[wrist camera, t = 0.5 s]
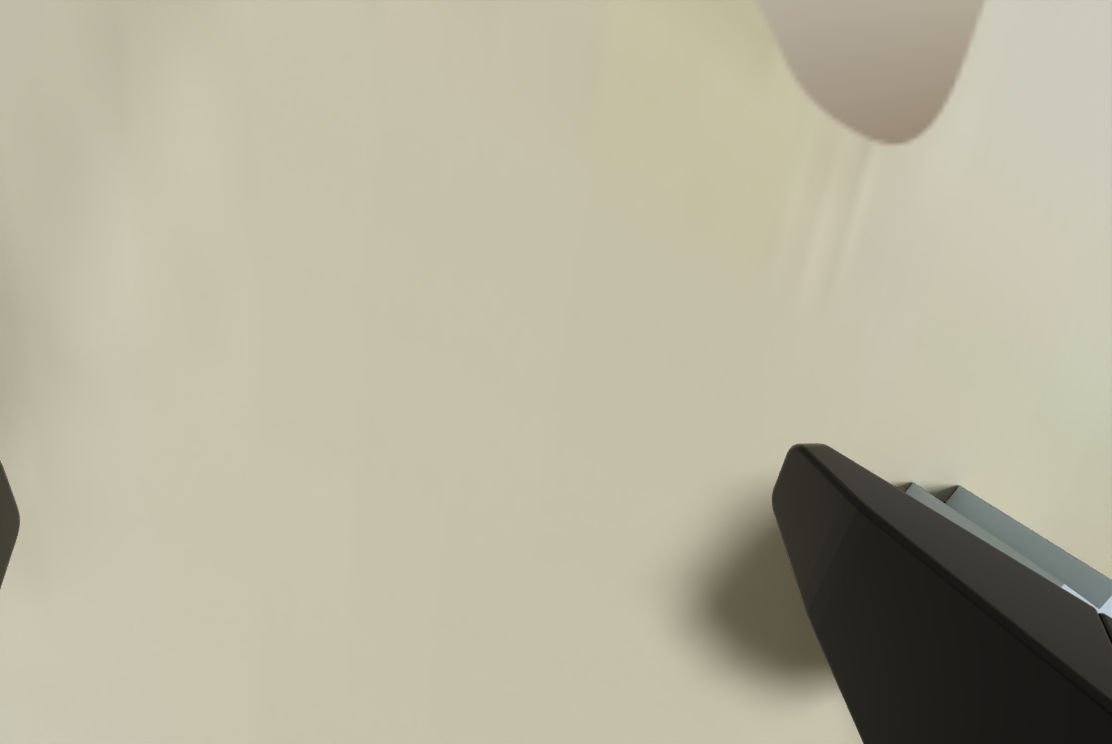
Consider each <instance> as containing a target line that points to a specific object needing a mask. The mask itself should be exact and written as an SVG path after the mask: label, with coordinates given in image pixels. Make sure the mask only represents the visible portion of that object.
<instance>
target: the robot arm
mask: <svg viewBox="0 0 1112 744" xmlns="http://www.w3.org/2000/svg"><path fill="white" fill-rule="evenodd" d="M772 506H773V511H774V514H775V517H776V521H777V524H778V527H779V530H780V533H781V536H782V539H783V542H784V546H785V549H786V552H787V555H788V558H789V561H790V564H791V567H792V571H793V574H794V577H795V580H796V583H797V586H798V589H799V592H800V596H801V598H802V601H803V604H804V607H805V610H806V612H807V615H808V617H809V620H810V622H811V625H812V627H813V630H814V632H815V634H816V637H817V639H818V641H819V643H820V646H821V648H822V650H823V652H824V655H825V657H826V659H827V662H828V664H829V666H830V668H831V671H832V673H833V675H834V677H835V680H836V682H837V684H838V687H839V689H840V691H841V693H842V696H843V698H844V700H845V702H846V705H847V707H848V709H849V712H850V714H851V716H852V718H853V721H854V723H855V725H856V727H857V730H858V732H859V734H860V737H861V739H862V741H863V743H864V744H1112V618H1111V617H1110V616H1108V615H1106V614H1104V613H1098V612H1097V610H1096V608H1094V607H1093V606H1091V605H1089V604H1088V603H1086V602H1085V601H1083V600H1081V599H1080V598H1078V597H1076V596H1075V595H1073V594H1071V593H1070V592H1068V591H1066V590H1065V589H1063V588H1061V587H1060V586H1058V585H1056V584H1055V583H1053V582H1052V581H1050V580H1048V579H1047V578H1045V577H1043V576H1042V575H1040V574H1038V573H1037V572H1035V571H1033V570H1032V569H1030V568H1028V567H1027V566H1025V565H1023V564H1022V563H1020V562H1019V561H1017V560H1015V559H1014V558H1012V557H1010V556H1009V555H1007V554H1005V553H1004V552H1002V551H1000V550H999V549H997V548H995V547H994V546H992V545H990V544H989V543H987V542H986V541H984V540H982V539H981V538H979V537H977V536H976V535H974V534H972V533H971V532H969V531H967V530H966V529H964V528H962V527H961V526H959V525H958V524H956V523H954V522H953V521H951V520H949V519H948V518H946V517H944V516H943V515H941V514H939V513H938V512H936V511H934V510H933V509H931V508H929V507H928V506H926V505H925V504H923V503H921V502H920V501H918V500H916V499H915V498H913V497H911V496H910V495H908V494H906V493H905V492H903V491H901V490H900V489H898V488H897V487H895V486H893V485H892V484H890V483H888V482H887V481H885V480H883V479H882V478H880V477H878V476H877V475H875V474H873V473H872V472H870V471H869V470H867V469H865V468H864V467H862V466H860V465H859V464H857V463H855V462H854V461H852V460H850V459H849V458H847V457H845V456H844V455H842V454H841V453H839V452H837V451H836V450H834V449H832V448H831V447H829V446H827V445H825V444H819V443H814V444H796V445H793V446H792V447H791V448H790V449H789V451H788V453H787V455H786V458H785V460H784V463H783V465H782V468H781V471H780V473H779V476H778V479H777V481H776V484H775V486H774V489H773V494H772ZM19 526H20V516H19V511H18V507H17V504H16V502H15V499H14V496H13V493H12V490H11V488H10V485H9V482H8V479H7V476H6V473H5V471H4V468H3V465H2V463H1V461H0V588H1V585H2V582H3V579H4V576H5V573H6V570H7V567H8V564H9V561H10V558H11V555H12V551H13V548H14V545H15V542H16V539H17V536H18V532H19Z"/></svg>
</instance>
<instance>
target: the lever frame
mask: <svg viewBox="0 0 1112 744" xmlns="http://www.w3.org/2000/svg"><path fill="white" fill-rule="evenodd" d="M905 493H906V494H908V495H910V496H911V497H913V498H915V499H916V500H918V501H920V502H921V503H923V504H925V505H926V506H928V507H929V508H931V509H933V510H934V511H936V512H938V513H939V514H941V515H943V516H944V517H946V518H948V519H949V520H951V521H953V522H954V523H956V524H958V525H959V526H961V527H962V528H964V529H966V530H967V531H969V532H971V533H972V534H974V535H976V536H977V537H979V538H981V539H982V540H984V541H986V542H987V543H989V544H990V545H992V546H994V547H995V548H997V549H999V550H1000V551H1002V552H1004V553H1005V554H1007V555H1009V556H1010V557H1012V558H1014V559H1015V560H1017V561H1019V562H1020V563H1022V564H1023V565H1025V566H1027V567H1028V568H1030V569H1032V570H1033V571H1035V572H1037V573H1038V574H1040V575H1042V576H1043V577H1045V578H1047V579H1048V580H1050V581H1052V582H1053V583H1055V584H1056V585H1058V586H1060V587H1061V588H1063V589H1065V590H1066V591H1068V592H1070V593H1071V594H1073V595H1075V596H1076V597H1078V598H1080V599H1081V600H1083V601H1085V602H1086V603H1088V604H1089V605H1091V606H1093V607H1094V608H1096V610H1097V612H1098V613H1104V614H1106V615H1108V616H1110V617H1111V618H1112V580H1111V579H1109V578H1108V577H1106V576H1105V575H1103V574H1101V573H1100V572H1098V571H1097V570H1095V569H1093V568H1092V567H1090V566H1089V565H1087V564H1085V563H1084V562H1082V561H1080V560H1079V559H1077V558H1076V557H1074V556H1072V555H1071V554H1069V553H1068V552H1066V551H1064V550H1063V549H1061V548H1060V547H1058V546H1056V545H1055V544H1053V543H1052V542H1050V541H1048V540H1047V539H1045V538H1043V537H1042V536H1040V535H1039V534H1037V533H1035V532H1034V531H1032V530H1031V529H1029V528H1027V527H1026V526H1024V525H1023V524H1021V523H1019V522H1018V521H1016V520H1015V519H1013V518H1011V517H1010V516H1008V515H1006V514H1005V513H1003V512H1002V511H1000V510H998V509H997V508H995V507H994V506H992V505H990V504H989V503H987V502H986V501H984V500H982V499H981V498H979V497H977V496H976V495H974V494H973V493H971V492H969V491H968V490H966V489H965V488H963V487H961V486H959V487H958V488H957V490H956V491H955V492H954V493H953V494H952V496H951V497H950V498H949V499H948V500H947V502H946V503H943V502H942V501H940V500H939V499H937V498H936V497H934V496H933V495H931V494H930V493H928V492H927V491H925V490H924V489H922V488H921V487H919V486H918V485H916V484H915V483H912V485H911V486H910V487H909V488H908V490H907V491H906V492H905Z"/></svg>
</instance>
